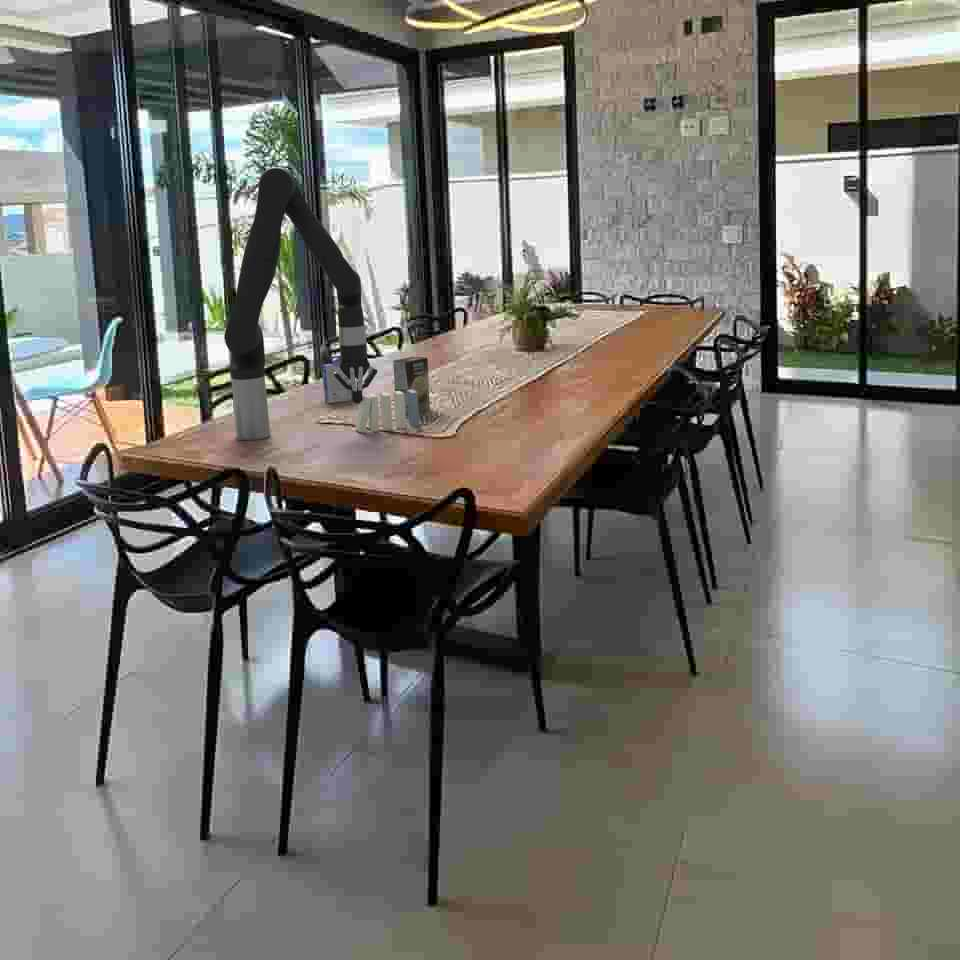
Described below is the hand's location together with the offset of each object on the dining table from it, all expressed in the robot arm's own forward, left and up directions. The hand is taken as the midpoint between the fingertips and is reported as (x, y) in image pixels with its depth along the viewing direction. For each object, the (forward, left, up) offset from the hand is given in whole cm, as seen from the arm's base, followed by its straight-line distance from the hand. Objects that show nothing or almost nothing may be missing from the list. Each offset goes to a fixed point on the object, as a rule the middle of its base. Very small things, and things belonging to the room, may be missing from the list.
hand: (357, 403), depth 310 cm
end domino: (+16, 0, -8) cm, 18 cm away
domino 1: (0, 0, -8) cm, 8 cm away
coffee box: (+21, +20, -8) cm, 30 cm away
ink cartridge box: (+4, +48, -8) cm, 49 cm away
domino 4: (+12, 0, -8) cm, 15 cm away
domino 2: (+4, 0, -8) cm, 9 cm away
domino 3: (+8, 0, -8) cm, 12 cm away
